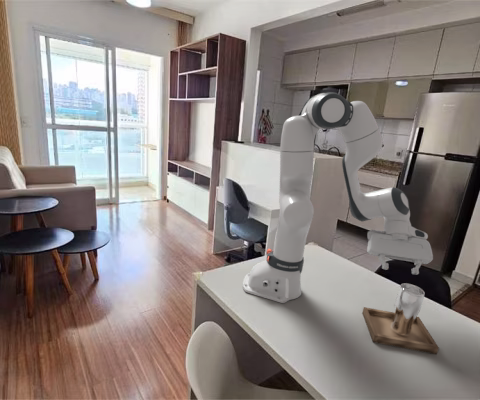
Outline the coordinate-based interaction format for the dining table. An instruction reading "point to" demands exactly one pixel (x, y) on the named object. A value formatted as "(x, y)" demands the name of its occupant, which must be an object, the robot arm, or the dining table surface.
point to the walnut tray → (384, 334)
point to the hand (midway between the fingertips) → (400, 271)
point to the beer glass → (406, 308)
